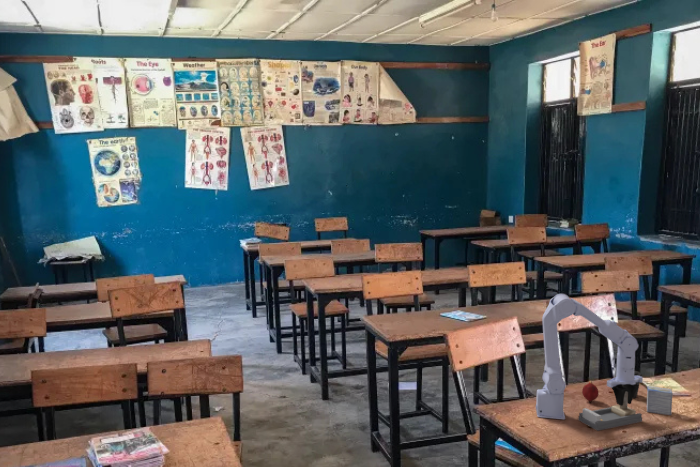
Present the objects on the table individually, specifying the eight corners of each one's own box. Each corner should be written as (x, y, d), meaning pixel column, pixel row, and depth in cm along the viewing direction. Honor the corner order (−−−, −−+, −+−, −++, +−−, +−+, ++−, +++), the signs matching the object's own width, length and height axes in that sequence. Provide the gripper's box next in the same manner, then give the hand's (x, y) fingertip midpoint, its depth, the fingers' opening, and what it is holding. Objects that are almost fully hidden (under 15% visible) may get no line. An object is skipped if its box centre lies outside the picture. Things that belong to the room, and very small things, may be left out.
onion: (600, 404, 215) (601, 384, 215) (585, 404, 216) (586, 384, 215) (594, 398, 221) (595, 378, 220) (579, 398, 221) (580, 378, 221)
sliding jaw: (624, 418, 200) (625, 396, 199) (611, 411, 205) (612, 390, 204) (635, 415, 201) (636, 394, 200) (622, 409, 207) (623, 388, 206)
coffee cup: (623, 390, 230) (624, 366, 229) (644, 395, 224) (645, 371, 223) (614, 395, 224) (615, 370, 223) (636, 401, 218) (637, 376, 217)
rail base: (597, 430, 194) (597, 418, 193) (578, 420, 202) (578, 407, 202) (641, 421, 201) (642, 409, 200) (621, 411, 209) (622, 399, 208)
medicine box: (670, 411, 209) (671, 388, 208) (671, 416, 205) (672, 392, 204) (646, 407, 212) (647, 385, 212) (646, 412, 208) (648, 389, 207)
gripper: (618, 373, 195) (616, 411, 197) (650, 367, 200) (648, 405, 201) (602, 366, 202) (601, 403, 203) (634, 361, 207) (632, 397, 208)
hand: (623, 403), depth 203 cm, fingers open, 3 cm apart
